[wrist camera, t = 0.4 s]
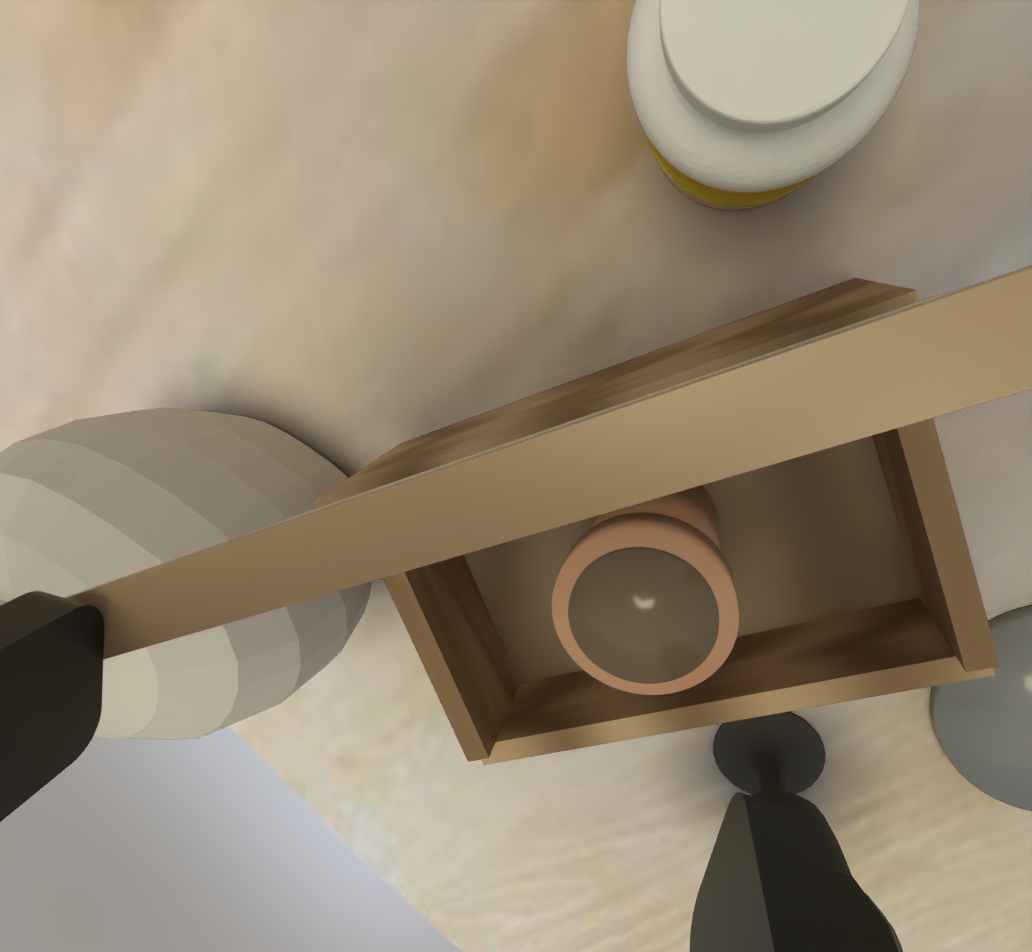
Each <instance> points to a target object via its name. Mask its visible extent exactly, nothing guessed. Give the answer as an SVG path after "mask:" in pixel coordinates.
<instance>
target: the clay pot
mask: <svg viewBox="0 0 1032 952" xmlns="http://www.w3.org/2000/svg"><path fill="white" fill-rule="evenodd" d="M552 616H553V622H554V626H555V629H556V632H557V635H558V637H559V639H560V641H561V643H562V645H563V647H564V648H565V650H566V651H567V653H568V654H569V655H570V656H571V658H572V659H573V660H574V661H575V662H576V663H577V664H578V665H579V666H580V667H581V668H582V669H583V670H584V671H586V672H587V673H588V674H590V675H591V676H592V677H594V678H595V679H597V680H599V681H601V682H602V683H604V684H606V685H609V686H611V687H613V688H616V689H619V690H622V691H625V692H630V693H635V694H643V695H663V694H670V693H675V692H679V691H683V690H686V689H688V688H691V687H693V686H695V685H697V684H699V683H701V682H703V681H704V680H706V679H707V678H708V677H710V676H711V675H712V674H714V673H715V672H716V671H717V670H718V669H719V668H720V667H721V666H722V664H723V663H724V662H725V660H726V659H727V658H728V656H729V654H730V652H731V650H732V648H733V646H734V643H735V640H736V638H737V633H738V627H739V611H738V602H737V592H736V584H735V580H734V576H733V572H732V570H731V568H730V565H729V563H728V561H727V560H726V558H725V556H724V555H723V553H722V552H721V542H720V528H719V517H718V513H717V509H716V506H715V504H714V502H713V500H712V498H711V497H710V495H709V494H708V492H707V491H706V490H705V489H704V488H703V487H702V486H701V485H700V486H697V487H693V488H690V489H687V490H683V491H680V492H676V493H673V494H669V495H666V496H663V497H659V498H656V499H652V500H649V501H645V502H642V503H639V504H635V505H632V506H628V507H625V508H621V509H618V510H615V511H611V512H608V513H604V514H601V515H597V516H594V519H593V521H592V524H591V526H590V529H589V530H587V531H586V532H585V533H584V534H583V535H582V536H581V537H580V538H579V539H578V540H577V541H576V542H575V544H574V545H573V546H572V548H571V549H570V551H569V553H568V554H567V556H566V559H565V561H564V563H563V566H562V568H561V570H560V573H559V575H558V578H557V580H556V582H555V586H554V590H553V595H552Z"/></svg>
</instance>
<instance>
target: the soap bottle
mask: <svg viewBox="0 0 1032 952" xmlns="http://www.w3.org/2000/svg"><path fill="white" fill-rule="evenodd" d="M347 478H348V477H347V476H346V475H344V474H343V473H342V472H341V471H340V470H339V469H338V468H336V467H335V466H334V465H333V464H332V463H330V462H329V461H328V460H326V459H325V458H323V457H322V456H321V455H319V454H318V453H316V452H315V451H314V450H312V449H311V448H309V447H308V446H306V445H305V444H303V443H301V442H300V441H298V440H297V439H295V438H294V437H292V436H290V435H289V434H287V433H286V432H284V431H282V430H280V429H278V428H276V427H274V426H272V425H270V424H268V423H266V422H263V421H259V420H256V419H252V418H248V417H244V416H237V415H231V414H224V413H217V412H206V411H194V410H181V409H168V408H157V409H148V410H140V411H132V412H126V413H119V414H113V415H106V416H100V417H93V418H87V419H80V420H75V421H72V422H69V423H67V424H64V425H61V426H59V427H56V428H53V429H51V430H48V431H45V432H43V433H40V434H37V435H35V436H32V437H29V438H26V439H24V440H21V441H18V442H16V443H14V444H12V445H11V446H9V447H8V448H7V449H5V450H4V451H2V452H1V453H0V605H2V604H4V603H7V602H9V601H11V600H13V599H15V598H17V597H19V596H21V595H23V594H26V593H28V592H32V591H42V592H46V593H49V594H53V595H56V596H60V597H66V596H69V595H72V594H75V593H78V592H81V591H83V590H86V589H89V588H92V587H95V586H98V585H101V584H104V583H107V582H110V581H113V580H116V579H118V578H121V577H124V576H127V575H130V574H133V573H136V572H139V571H142V570H145V569H148V568H151V567H153V566H156V565H159V564H162V563H165V562H168V561H171V560H174V559H177V558H180V557H183V556H186V555H188V554H191V553H194V552H197V551H200V550H203V549H206V548H209V547H212V546H215V545H218V544H221V543H223V542H226V541H229V540H232V539H234V538H237V537H240V536H242V535H245V534H248V533H251V532H253V531H256V530H259V529H261V528H264V527H267V526H270V525H272V524H275V523H278V522H280V521H283V520H286V519H289V518H291V517H294V516H297V515H299V514H302V513H305V512H308V511H311V510H314V509H317V508H316V506H315V504H314V502H313V501H314V500H315V499H317V498H319V497H320V496H322V495H323V494H325V493H326V492H328V491H329V490H331V489H332V488H334V487H335V486H337V485H338V484H340V483H341V482H343V481H344V480H346V479H347ZM371 585H372V581H371V582H368V583H364V584H361V585H357V586H354V587H351V588H347V589H344V590H340V591H337V592H333V593H330V594H327V595H323V596H320V597H316V598H313V599H309V600H306V601H303V602H299V603H296V604H292V605H289V606H285V607H282V608H279V609H275V610H272V611H268V612H265V613H261V614H258V615H255V616H251V617H248V618H244V619H241V620H237V621H234V622H231V623H227V624H224V625H220V626H217V627H213V628H210V629H207V630H203V631H200V632H196V633H193V634H189V635H186V636H183V637H179V638H176V639H172V640H169V641H166V642H162V643H159V644H155V645H152V646H148V647H145V648H142V649H138V650H135V651H131V652H128V653H124V654H121V655H118V656H114V657H111V658H107V659H104V660H103V684H102V710H101V717H100V721H99V724H98V727H97V729H96V731H95V734H94V735H95V736H100V737H104V738H117V739H118V738H119V739H150V740H183V739H184V740H185V739H198V738H201V737H203V736H205V735H208V734H210V733H212V732H215V731H217V730H219V729H222V728H224V727H227V726H229V725H231V724H234V723H236V722H238V721H241V720H243V719H245V718H248V717H250V716H252V715H255V714H257V713H259V712H262V711H264V710H266V709H269V708H271V707H274V706H276V705H278V704H280V703H282V702H283V701H284V700H285V699H286V698H288V697H289V696H290V695H291V694H292V693H294V692H295V691H296V690H297V689H299V688H300V687H301V686H302V685H303V684H305V683H306V682H307V681H308V680H309V679H311V678H312V677H313V676H314V675H315V674H317V673H318V672H319V671H320V670H322V669H323V668H324V667H325V666H326V665H328V664H329V663H330V662H331V661H332V660H333V659H334V658H335V657H336V656H337V655H338V654H339V653H340V652H341V650H342V649H343V647H344V645H345V644H346V642H347V640H348V639H349V637H350V635H351V634H352V632H353V630H354V629H355V627H356V625H357V623H358V622H359V620H360V618H361V617H362V615H363V613H364V612H365V609H366V605H367V602H368V599H369V596H370V591H371Z"/></svg>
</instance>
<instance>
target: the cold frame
mask: <svg viewBox="0 0 1032 952" xmlns="http://www.w3.org/2000/svg"><path fill="white" fill-rule="evenodd" d="M918 301H919V297H918V293H917V290H913V289H908V288H903V287H898V286H893V285H888V284H883V283H878V282H873V281H868V280H863V279H858V278H854V279H851V280H848V281H845V282H843V283H840V284H837V285H834V286H832V287H829V288H826V289H823V290H821V291H818V292H815V293H813V294H810V295H807V296H804V297H802V298H799V299H796V300H793V301H791V302H788V303H785V304H782V305H780V306H777V307H774V308H771V309H769V310H766V311H763V312H760V313H758V314H755V315H752V316H749V317H747V318H744V319H741V320H738V321H736V322H733V323H730V324H727V325H725V326H722V327H719V328H716V329H714V330H711V331H708V332H705V333H703V334H700V335H697V336H695V337H692V338H689V339H686V340H684V341H681V342H678V343H675V344H673V345H670V346H667V347H664V348H662V349H659V350H656V351H653V352H651V353H648V354H645V355H642V356H640V357H637V358H634V359H631V360H629V361H626V362H623V363H620V364H618V365H615V366H612V367H609V368H607V369H604V370H601V371H598V372H596V373H593V374H590V375H587V376H585V377H582V378H579V379H576V380H574V381H571V382H568V383H566V384H563V385H560V386H557V387H555V388H552V389H549V390H546V391H544V392H541V393H538V394H535V395H533V396H530V397H527V398H524V399H522V400H519V401H516V402H513V403H511V404H508V405H505V406H502V407H500V408H497V409H494V410H491V411H489V412H486V413H483V414H480V415H478V416H475V417H472V418H469V419H467V420H464V421H461V422H458V423H456V424H453V425H450V426H448V427H445V428H442V429H439V430H437V431H434V432H431V433H428V434H426V435H423V436H420V437H417V438H415V439H412V440H409V441H406V442H404V443H401V444H399V445H398V446H396V447H395V448H393V449H392V450H390V451H389V452H387V453H386V454H384V455H382V456H381V457H379V458H378V459H376V460H375V461H373V462H372V463H370V464H369V465H367V466H366V467H364V468H363V469H361V470H360V471H358V472H357V473H355V474H354V475H352V476H350V477H349V478H347V479H346V480H344V481H343V482H341V483H340V484H338V485H337V486H335V487H334V488H332V489H331V490H329V491H328V492H326V493H325V494H323V495H322V496H320V497H319V498H317V499H315V500H314V501H313V502H314V504H315V506H316V508H319V507H322V506H325V505H328V504H331V503H334V502H337V501H340V500H343V499H346V498H348V497H351V496H354V495H357V494H360V493H363V492H366V491H369V490H372V489H375V488H378V487H380V486H383V485H386V484H389V483H392V482H395V481H398V480H401V479H404V478H407V477H409V476H412V475H415V474H418V473H421V472H424V471H427V470H430V469H433V468H436V467H439V466H441V465H444V464H447V463H450V462H453V461H456V460H459V459H462V458H465V457H468V456H471V455H473V454H476V453H479V452H482V451H485V450H488V449H491V448H494V447H497V446H500V445H502V444H505V443H508V442H511V441H514V440H517V439H520V438H523V437H526V436H529V435H532V434H534V433H537V432H540V431H543V430H546V429H549V428H552V427H555V426H558V425H561V424H563V423H566V422H569V421H572V420H575V419H578V418H581V417H584V416H587V415H590V414H593V413H595V412H598V411H601V410H604V409H607V408H610V407H613V406H616V405H619V404H622V403H624V402H627V401H630V400H633V399H636V398H639V397H642V396H645V395H648V394H651V393H654V392H656V391H659V390H662V389H665V388H668V387H671V386H674V385H677V384H680V383H683V382H686V381H688V380H691V379H694V378H697V377H700V376H703V375H706V374H709V373H712V372H715V371H717V370H720V369H723V368H726V367H729V366H732V365H735V364H738V363H741V362H744V361H747V360H749V359H752V358H755V357H758V356H761V355H764V354H767V353H770V352H773V351H776V350H778V349H781V348H784V347H787V346H790V345H793V344H796V343H799V342H802V341H805V340H808V339H810V338H813V337H816V336H819V335H822V334H825V333H828V332H831V331H834V330H837V329H840V328H842V327H845V326H848V325H851V324H854V323H857V322H860V321H863V320H866V319H869V318H871V317H874V316H877V315H880V314H883V313H886V312H889V311H892V310H895V309H898V308H901V307H903V306H906V305H909V304H912V303H915V302H918ZM701 486H702V487H703V488H704V489H705V490H706V491H707V492H708V494H709V495H710V497H711V498H712V500H713V502H714V504H715V506H716V509H717V513H718V517H719V528H720V542H721V552H722V553H723V555H724V556H725V558H726V560H727V561H728V563H729V565H730V568H731V570H732V572H733V576H734V580H735V584H736V592H737V602H738V611H739V627H738V633H737V638H736V640H735V643H734V646H733V648H732V650H731V652H730V654H729V656H728V658H727V659H726V660H725V662H724V663H723V664H722V666H721V667H720V668H719V669H718V670H717V671H716V672H715V673H714V674H712V675H711V676H710V677H708V678H707V679H706V680H704V681H703V682H701V683H699V684H697V685H695V686H693V687H691V688H688V689H686V690H683V691H679V692H675V693H670V694H663V695H643V694H635V693H630V692H625V691H622V690H619V689H616V688H613V687H611V686H609V685H606V684H604V683H602V682H601V681H599V680H597V679H595V678H594V677H592V676H591V675H590V674H588V673H587V672H586V671H584V670H583V669H582V668H581V667H580V666H579V665H578V664H577V663H576V662H575V661H574V660H573V659H572V658H571V656H570V655H569V654H568V653H567V651H566V650H565V648H564V647H563V645H562V643H561V641H560V639H559V637H558V635H557V632H556V629H555V626H554V622H553V616H552V595H553V590H554V586H555V582H556V580H557V578H558V575H559V573H560V570H561V568H562V566H563V563H564V561H565V559H566V556H567V554H568V553H569V551H570V549H571V548H572V546H573V545H574V544H575V542H576V541H577V540H578V539H579V538H580V537H581V536H582V535H583V534H584V533H585V532H586V531H587V530H589V529H590V526H591V524H592V521H593V519H594V517H591V518H587V519H584V520H580V521H577V522H573V523H570V524H567V525H563V526H560V527H556V528H553V529H549V530H546V531H543V532H539V533H536V534H532V535H529V536H525V537H522V538H519V539H515V540H512V541H508V542H505V543H501V544H498V545H495V546H491V547H488V548H484V549H481V550H477V551H474V552H471V553H467V554H464V555H460V556H457V557H453V558H450V559H447V560H443V561H440V562H436V563H433V564H429V565H426V566H423V567H419V568H416V569H412V570H409V571H405V572H402V573H399V574H395V575H392V576H388V577H385V578H383V579H384V581H385V583H386V585H387V588H388V590H389V592H390V594H391V596H392V598H393V600H394V603H395V605H396V607H397V609H398V611H399V613H400V616H401V618H402V620H403V622H404V624H405V626H406V629H407V631H408V633H409V635H410V637H411V639H412V642H413V644H414V646H415V648H416V650H417V652H418V654H419V657H420V659H421V661H422V663H423V665H424V667H425V670H426V672H427V674H428V676H429V678H430V680H431V683H432V685H433V687H434V689H435V691H436V693H437V695H438V698H439V700H440V702H441V704H442V706H443V708H444V711H445V713H446V715H447V717H448V719H449V721H450V724H451V726H452V728H453V730H454V732H455V734H456V737H457V739H458V741H459V743H460V745H461V747H462V749H463V752H464V754H465V756H466V758H467V760H468V762H469V761H474V760H480V759H481V760H482V762H483V764H484V765H486V764H492V763H498V762H504V761H509V760H515V759H521V758H526V757H532V756H538V755H543V754H549V753H555V752H560V751H566V750H572V749H578V748H583V747H589V746H595V745H600V744H606V743H612V742H617V741H623V740H629V739H635V738H640V737H646V736H652V735H657V734H663V733H669V732H674V731H680V730H686V729H691V728H697V727H703V726H709V725H714V724H720V723H726V722H731V721H737V720H743V719H748V718H754V717H760V716H766V715H771V714H777V713H783V712H788V711H794V710H800V709H805V708H811V707H817V706H822V705H828V704H834V703H840V702H845V701H851V700H857V699H862V698H868V697H874V696H879V695H885V694H891V693H896V692H902V691H908V690H914V689H919V688H925V687H931V686H936V685H942V684H948V683H953V682H959V681H965V680H971V679H976V678H982V677H988V676H993V675H995V673H994V669H993V668H994V667H1000V665H999V661H998V658H997V654H996V650H995V647H994V643H993V639H992V635H991V632H990V628H989V624H988V621H987V617H986V613H985V610H984V606H983V602H982V598H981V595H980V591H979V587H978V584H977V580H976V576H975V572H974V569H973V565H972V561H971V558H970V554H969V550H968V547H967V543H966V539H965V535H964V532H963V528H962V524H961V521H960V517H959V513H958V510H957V506H956V502H955V498H954V495H953V491H952V487H951V484H950V480H949V476H948V473H947V469H946V465H945V461H944V458H943V454H942V450H941V447H940V443H939V439H938V436H937V432H936V428H935V424H934V421H933V418H930V419H927V420H923V421H920V422H916V423H913V424H909V425H906V426H903V427H899V428H896V429H892V430H889V431H885V432H882V433H879V434H875V435H872V436H868V437H865V438H861V439H858V440H855V441H851V442H848V443H844V444H841V445H837V446H834V447H831V448H827V449H824V450H820V451H817V452H813V453H810V454H807V455H803V456H800V457H796V458H793V459H789V460H786V461H783V462H779V463H776V464H772V465H769V466H765V467H762V468H759V469H755V470H752V471H748V472H745V473H741V474H738V475H735V476H731V477H728V478H724V479H721V480H717V481H714V482H711V483H707V484H704V485H701Z"/></svg>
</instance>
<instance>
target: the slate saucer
mask: <svg viewBox="0 0 1032 952" xmlns="http://www.w3.org/2000/svg"><path fill="white" fill-rule="evenodd" d="M988 624H989V628H990V632H991V635H992V639H993V643H994V647H995V650H996V654H997V658H998V661H999V665H1000V667H994V668H993V669H994V673H995V675H993V676H988V677H982V678H976V679H971V680H965V681H959V682H953V683H948V684H942V685H936V686H933V687H932V691H931V699H930V711H931V718H932V723H933V727H934V729H935V732H936V735H937V737H938V739H939V741H940V743H941V745H942V748H943V750H944V751H945V753H946V755H947V757H948V758H949V760H950V762H951V763H952V764H953V765H954V767H955V768H956V769H957V770H958V772H959V773H960V774H961V775H962V776H963V777H965V778H966V779H967V780H968V781H969V782H970V783H971V784H973V785H974V786H975V787H977V788H978V789H979V790H981V791H982V792H984V793H986V794H988V795H989V796H991V797H993V798H995V799H997V800H999V801H1002V802H1004V803H1006V804H1009V805H1011V806H1014V807H1018V808H1021V809H1024V810H1028V811H1032V605H1031V606H1027V607H1023V608H1019V609H1016V610H1013V611H1011V612H1008V613H1005V614H1002V615H1000V616H998V617H996V618H994V619H992V620H990V621H988Z"/></svg>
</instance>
